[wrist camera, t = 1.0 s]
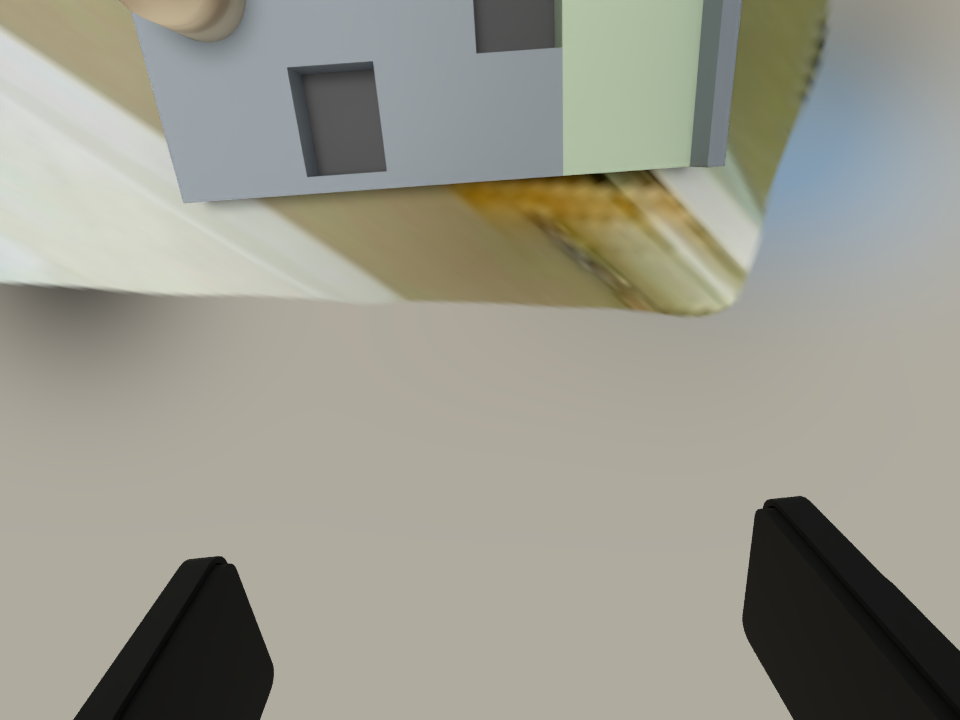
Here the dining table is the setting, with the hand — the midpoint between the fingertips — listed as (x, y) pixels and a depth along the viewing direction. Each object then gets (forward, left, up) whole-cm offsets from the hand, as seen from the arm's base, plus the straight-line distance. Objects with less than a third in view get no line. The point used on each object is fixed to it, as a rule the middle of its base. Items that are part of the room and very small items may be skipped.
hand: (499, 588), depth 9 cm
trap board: (-13, -2, -30) cm, 32 cm away
